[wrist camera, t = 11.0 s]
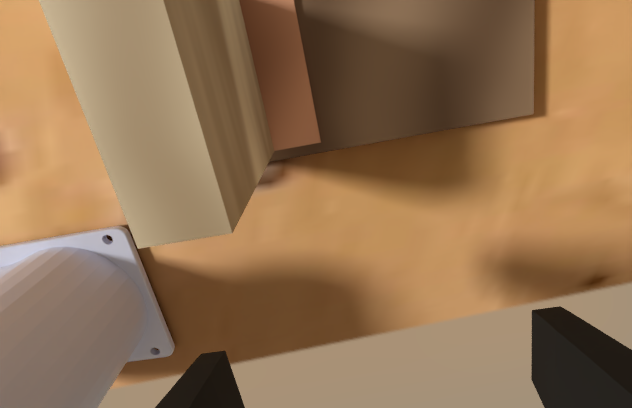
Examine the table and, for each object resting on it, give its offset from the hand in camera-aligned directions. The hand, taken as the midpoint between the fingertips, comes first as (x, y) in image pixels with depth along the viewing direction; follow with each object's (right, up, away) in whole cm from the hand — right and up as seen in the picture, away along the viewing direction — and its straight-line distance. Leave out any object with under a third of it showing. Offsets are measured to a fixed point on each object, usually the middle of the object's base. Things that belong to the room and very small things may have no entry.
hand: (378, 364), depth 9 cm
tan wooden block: (-5, +9, +7) cm, 12 cm away
